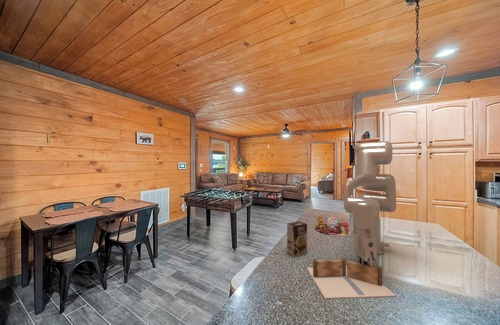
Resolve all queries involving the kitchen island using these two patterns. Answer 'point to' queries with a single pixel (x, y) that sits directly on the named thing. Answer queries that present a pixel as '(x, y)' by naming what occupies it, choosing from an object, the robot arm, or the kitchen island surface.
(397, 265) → the kitchen island surface
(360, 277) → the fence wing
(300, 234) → the coffee box
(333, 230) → the plate of food
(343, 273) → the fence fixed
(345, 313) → the kitchen island surface
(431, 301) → the kitchen island surface
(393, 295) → the card
